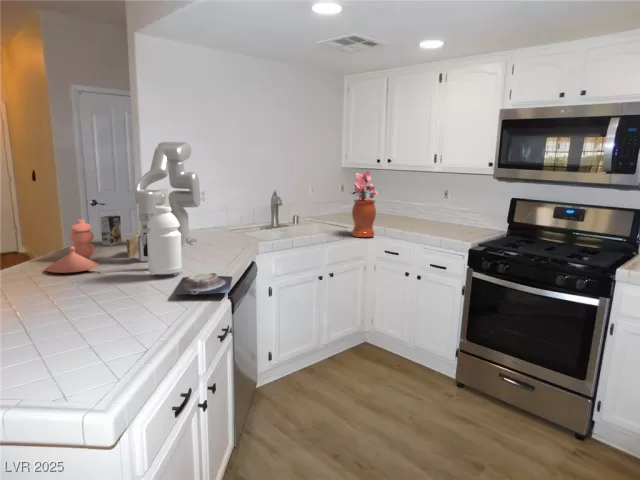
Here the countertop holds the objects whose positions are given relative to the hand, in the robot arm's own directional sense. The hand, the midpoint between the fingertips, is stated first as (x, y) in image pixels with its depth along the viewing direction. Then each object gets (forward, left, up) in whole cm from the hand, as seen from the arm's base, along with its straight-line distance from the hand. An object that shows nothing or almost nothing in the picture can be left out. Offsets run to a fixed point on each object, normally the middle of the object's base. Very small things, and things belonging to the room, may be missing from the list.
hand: (149, 254), depth 204 cm
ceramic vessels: (+31, +5, -3) cm, 31 cm away
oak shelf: (+5, -21, -3) cm, 21 cm away
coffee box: (+32, -44, -3) cm, 54 cm away
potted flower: (-121, -79, -3) cm, 145 cm away
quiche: (-33, +43, -4) cm, 54 cm away
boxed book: (0, 0, -3) cm, 3 cm away
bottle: (-12, +20, -3) cm, 24 cm away
